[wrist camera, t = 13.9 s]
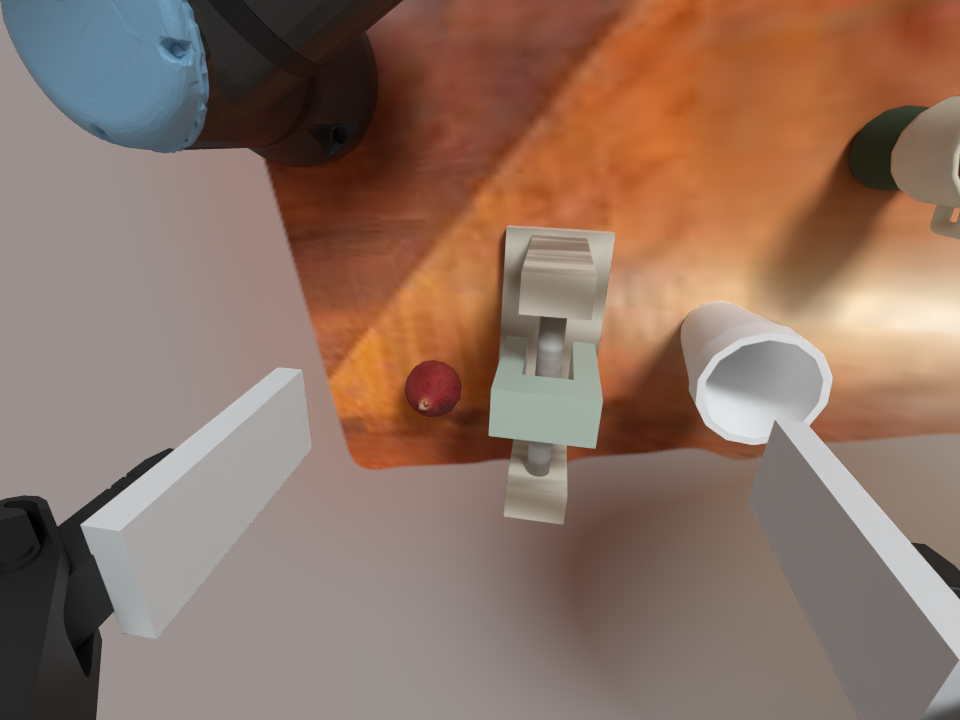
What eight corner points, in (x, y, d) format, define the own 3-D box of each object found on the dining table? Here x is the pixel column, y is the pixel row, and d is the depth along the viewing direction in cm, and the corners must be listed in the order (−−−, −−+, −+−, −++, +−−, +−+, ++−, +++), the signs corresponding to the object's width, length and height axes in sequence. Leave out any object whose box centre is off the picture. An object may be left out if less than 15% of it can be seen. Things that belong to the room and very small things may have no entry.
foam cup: (696, 269, 47) (742, 312, 35) (785, 307, 47) (861, 362, 35) (646, 353, 51) (672, 417, 39) (729, 387, 51) (779, 461, 39)
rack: (508, 225, 48) (484, 261, 33) (613, 231, 46) (637, 272, 32) (496, 421, 57) (474, 517, 42) (584, 430, 55) (592, 533, 41)
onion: (476, 368, 54) (463, 403, 47) (450, 405, 57) (433, 443, 50) (431, 339, 54) (411, 370, 47) (407, 378, 56) (384, 413, 49)
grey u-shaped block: (507, 335, 46) (491, 389, 36) (594, 343, 45) (603, 401, 35) (504, 374, 48) (488, 436, 38) (589, 382, 46) (595, 448, 37)
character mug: (915, 216, 42) (1052, 245, 31) (824, 217, 43) (923, 246, 32) (960, 70, 38) (1139, 38, 26) (858, 76, 39) (986, 47, 27)
